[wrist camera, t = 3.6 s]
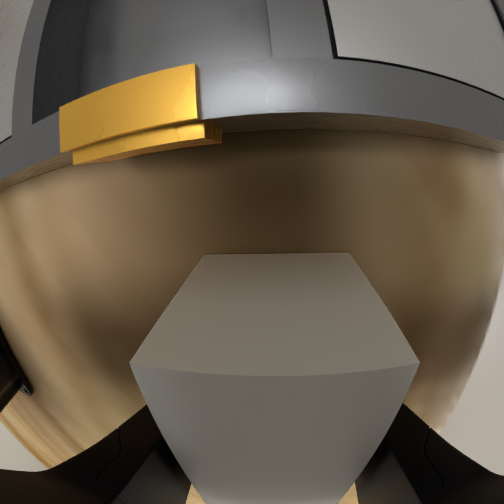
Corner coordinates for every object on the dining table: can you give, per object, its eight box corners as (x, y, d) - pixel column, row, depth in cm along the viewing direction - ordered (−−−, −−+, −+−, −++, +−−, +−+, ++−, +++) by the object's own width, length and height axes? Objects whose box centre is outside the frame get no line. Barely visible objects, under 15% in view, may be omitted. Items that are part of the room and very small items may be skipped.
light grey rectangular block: (324, 413, 9) (333, 507, 5) (227, 413, 10) (208, 506, 6) (349, 252, 7) (420, 362, 3) (204, 254, 8) (128, 362, 3)
